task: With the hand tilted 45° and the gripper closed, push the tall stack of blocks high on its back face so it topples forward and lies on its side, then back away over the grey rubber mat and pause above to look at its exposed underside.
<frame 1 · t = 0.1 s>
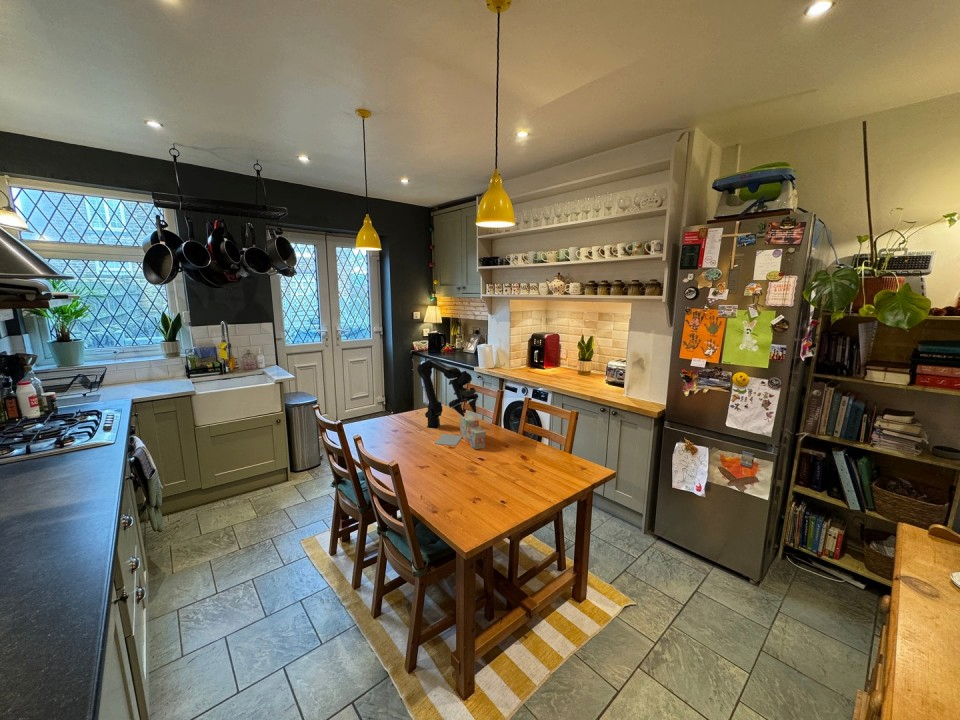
hand: (469, 414, 213), 15 cm above the table, tool tilted 35°, fingers open, 9 cm apart
stack of blocks: (472, 441, 213), on the table, touching grey rubber mat
grey rubber mat: (449, 439, 215), on the table
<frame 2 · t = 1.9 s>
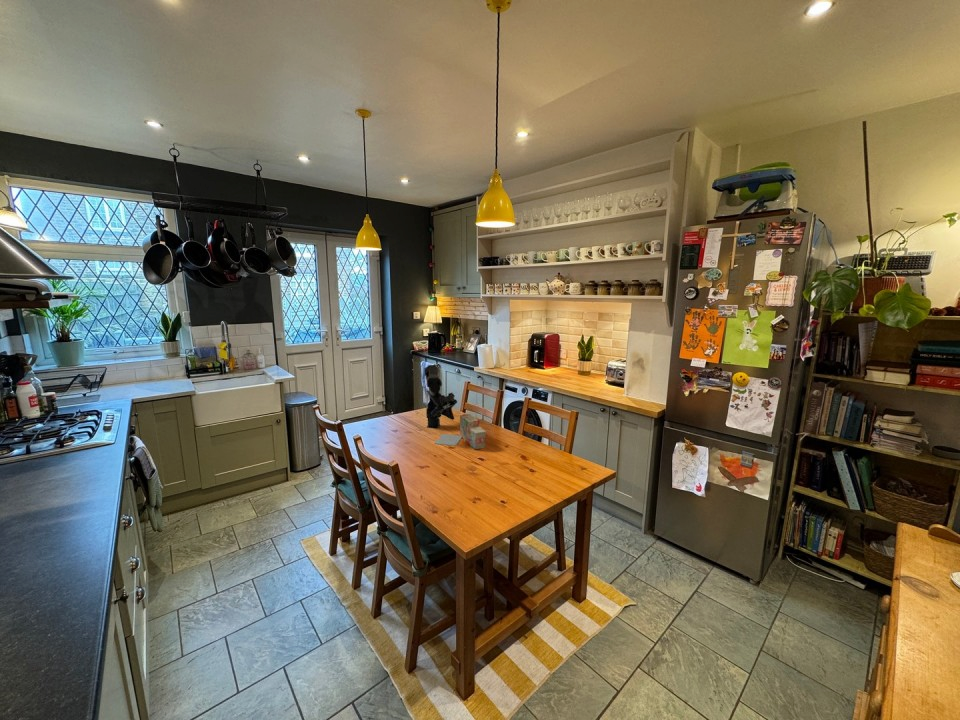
hand: (453, 419, 215), 11 cm above the table, tool tilted 45°, fingers closed
nothing on the table moved.
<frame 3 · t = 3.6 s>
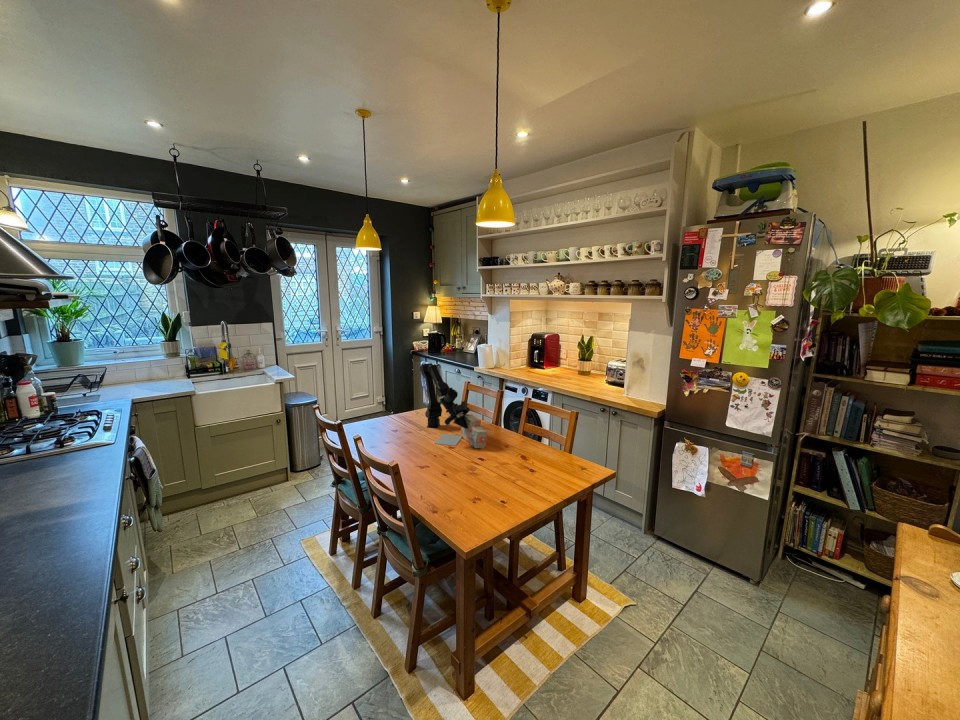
hand: (467, 428, 212), 8 cm above the table, tool tilted 45°, fingers closed
stack of blocks: (472, 441, 213), on the table
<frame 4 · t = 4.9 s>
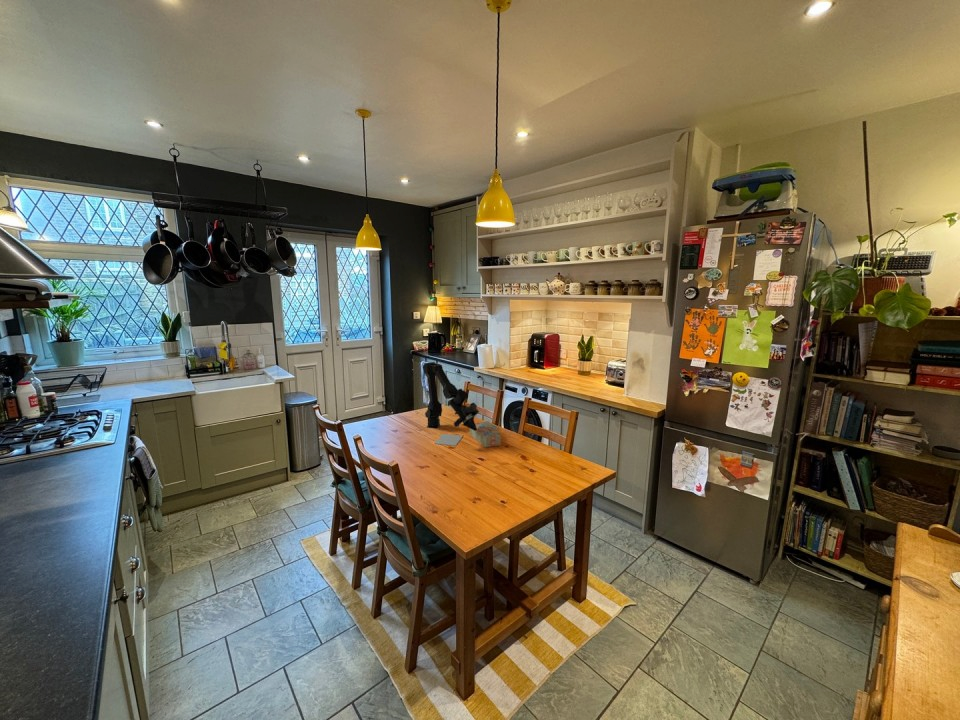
hand: (476, 430, 209), 8 cm above the table, tool tilted 45°, fingers closed
stack of blocks: (476, 435, 214), point 3 cm above the table
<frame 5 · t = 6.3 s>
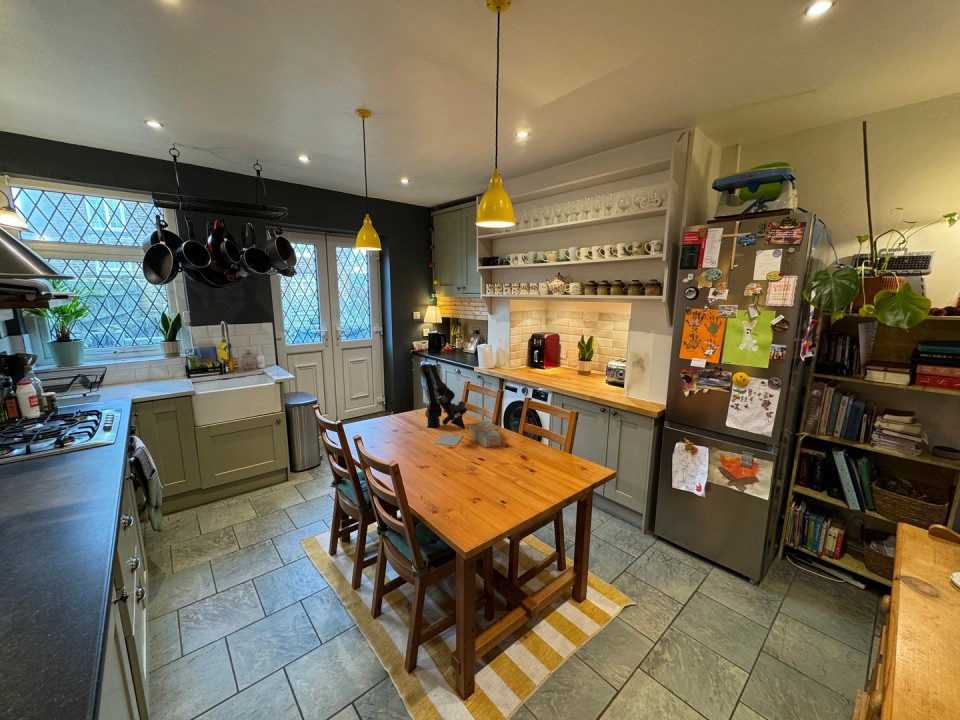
hand: (464, 428, 213), 7 cm above the table, tool tilted 45°, fingers closed
nothing on the table moved.
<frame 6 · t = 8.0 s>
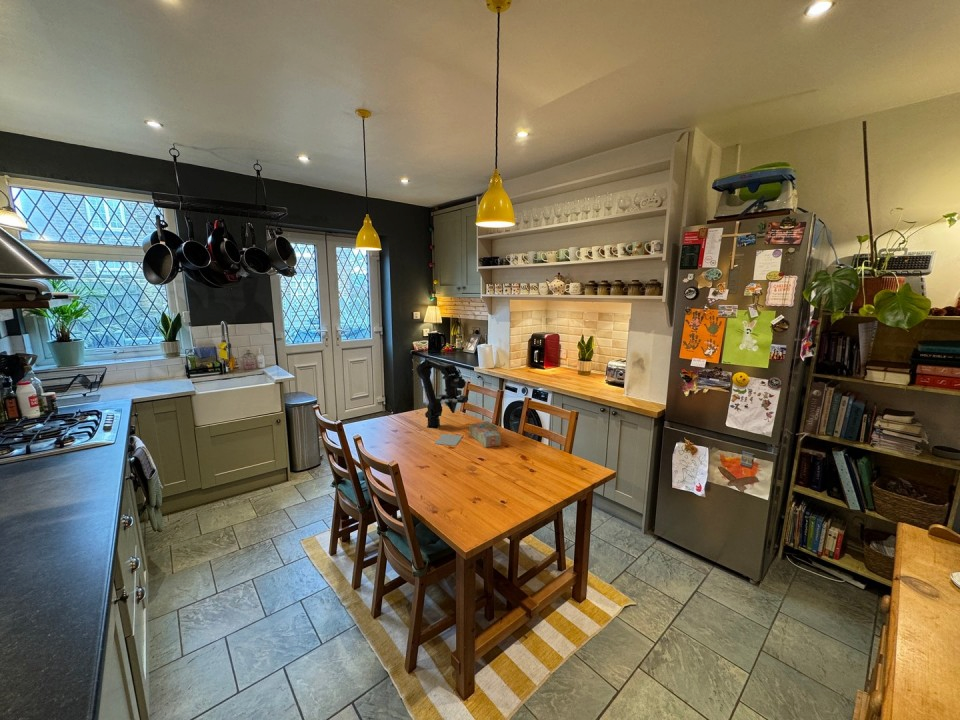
hand: (453, 412, 222), 13 cm above the table, tool pointing down, fingers closed
nothing on the table moved.
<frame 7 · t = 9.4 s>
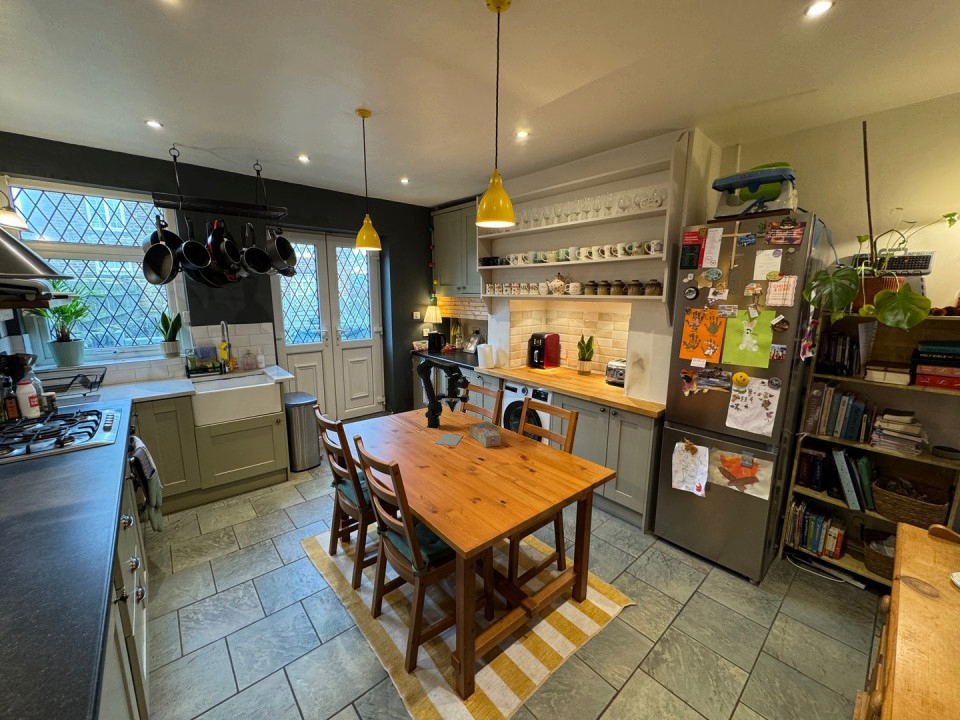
hand: (452, 412, 223), 13 cm above the table, tool pointing down, fingers closed
nothing on the table moved.
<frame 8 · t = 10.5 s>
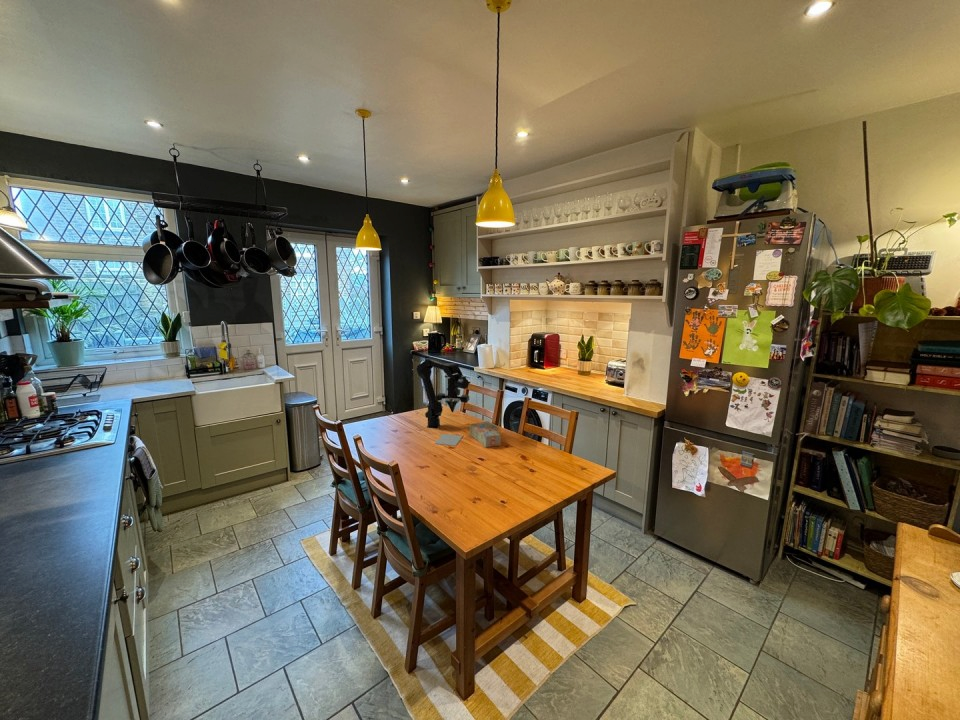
hand: (452, 412, 223), 13 cm above the table, tool pointing down, fingers closed
nothing on the table moved.
at the end: stack of blocks tilted 90°; stack of blocks inside the target area (4.2 cm from its centre), point 3.1 cm above the table; the gripper is holding nothing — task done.
